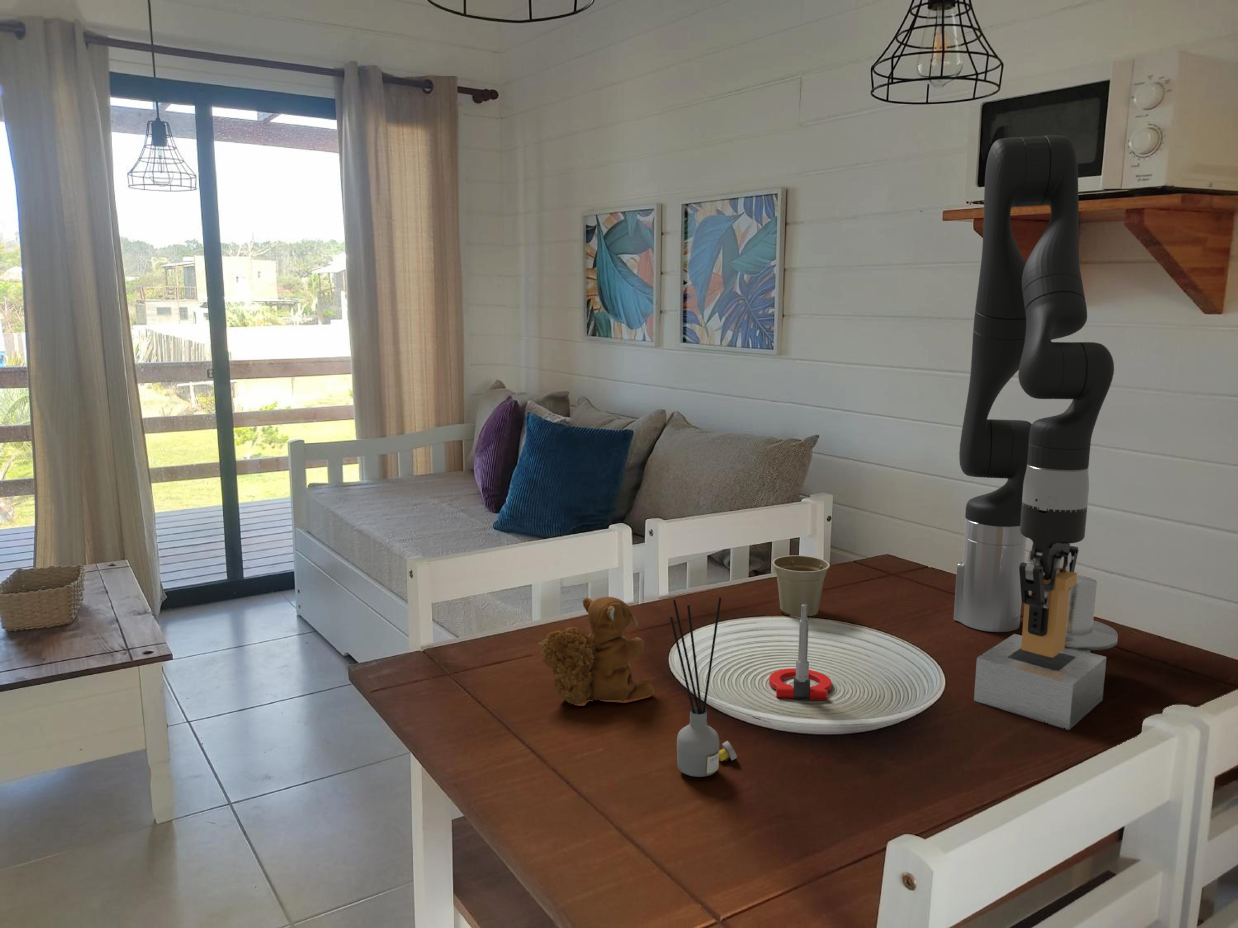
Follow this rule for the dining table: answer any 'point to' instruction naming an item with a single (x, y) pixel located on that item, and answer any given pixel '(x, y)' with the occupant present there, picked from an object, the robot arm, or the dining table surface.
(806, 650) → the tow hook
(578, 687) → the stuffed squirrel
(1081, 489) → the robot arm
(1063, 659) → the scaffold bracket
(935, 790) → the dining table surface
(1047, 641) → the wedge pin
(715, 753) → the reed diffuser
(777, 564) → the flower pot
